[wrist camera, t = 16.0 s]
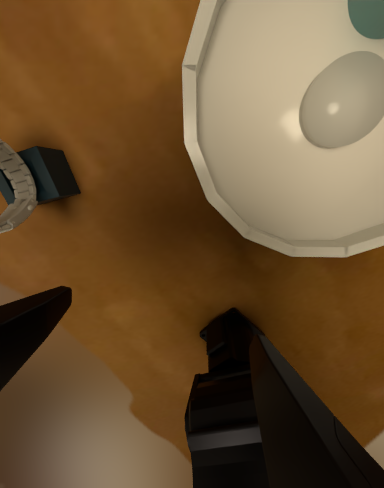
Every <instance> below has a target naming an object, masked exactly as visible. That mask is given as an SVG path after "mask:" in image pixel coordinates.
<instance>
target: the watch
mask: <svg viewBox="0 0 384 488" xmlns="http://www.w3.org/2000/svg"><path fill="white" fill-rule="evenodd" d="M14 152H15V151H14V150H13V149H12V148H11V147H10V146H9V145H8V144H6V143H5V142H3V141H2V140H1V139H0V191H1V193H2V195H3V196H4V198H5V200H6V202H7V203H8V205H9V206H8V207H7V208H6V210H5V211H4V212H3V213H2V214H1V215H0V233H2V232H6V231H9V230H12V229H14V228H15V227H17V226H18V225H20V224H21V223H22V222H23V221H25V220H26V219H27V218H28V217H29V216H30V214H31V213H32V212H33V210H34V209H35V207H36V205H40V204H43V203H47V202H51V201H54V200H58V199H62V198H65V197H69V196H73V195H77V194H80V193H81V192H80V190H79V188H78V185H77V183H76V181H75V178H74V176H73V174H72V172H71V169H70V167H69V165H68V162H67V160H66V158H65V155H64V153H63V151H62V150H56V149H50V148H44V147H38V146H35V147H32V148H29V149H26V150H23V151H20V152H17V153H14Z"/></svg>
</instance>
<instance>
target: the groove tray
mask: <svg viewBox="0 0 384 488" xmlns="http://www.w3.org/2000/svg"><path fill="white" fill-rule="evenodd" d="M182 83H183V115H184V144H185V146H186V149H187V151H188V154H189V156H190V158H191V161H192V163H193V166H194V168H195V171H196V173H197V176H198V178H199V181H200V183H201V186H202V188H203V191H204V193H205V196H206V198H207V201H208V202H209V203H210V204H211V205H212V206H213V207H214V208H215V209H216V210H217V211H218V212H219V213H220V214H221V215H222V216H223V217H224V218H225V219H226V220H227V221H228V222H229V223H230V224H231V225H232V226H233V227H234V228H235V229H236V230H237V231H238V232H239V233H240V234H241V235H242V236H243V237H244V238H246V239H249V240H251V241H254V242H256V243H258V244H261V245H263V246H266V247H268V248H271V249H273V250H276V251H278V252H281V253H283V254H286V255H288V256H291V257H348V256H351V255H355V254H358V253H361V252H364V251H367V250H370V249H374V248H377V247H380V246H383V245H384V39H369V38H366V37H364V36H362V35H361V34H360V33H358V32H357V31H356V29H355V28H354V27H353V25H352V23H351V20H350V17H349V13H348V0H201V1H200V4H199V8H198V11H197V15H196V18H195V22H194V25H193V29H192V32H191V36H190V39H189V43H188V46H187V50H186V53H185V57H184V60H183V64H182Z"/></svg>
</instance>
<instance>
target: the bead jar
mask: <svg viewBox="0 0 384 488" xmlns="http://www.w3.org/2000/svg"><path fill="white" fill-rule="evenodd" d="M348 13H349V17H350V20H351V23H352V25H353V27H354V28H355V29H356V31H357V32H358V33H360V34H361V35H362V36H364V37H366V38H369V39H384V0H348Z"/></svg>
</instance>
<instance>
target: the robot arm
mask: <svg viewBox="0 0 384 488" xmlns="http://www.w3.org/2000/svg"><path fill="white" fill-rule="evenodd" d="M71 302H72V289H71V288H70V287H66V286H59V287H56V288H53V289H50V290H47V291H44V292H41V293H38V294H35V295H32V296H29V297H26V298H23V299H20V300H17V301H14V302H11V303H8V304H5V305H1V306H0V391H1V390H2V388H3V387H4V386H5V385H6V384H7V383H8V382H9V380H10V379H11V378H12V377H13V376H14V375H15V374H16V372H17V371H18V370H19V369H20V368H21V367H22V366H23V364H24V363H25V362H26V361H27V360H28V359H29V358H30V357H31V355H32V354H33V353H34V352H35V351H36V350H37V349H38V347H39V346H40V345H41V344H42V342H44V341H45V339H46V338H47V337H48V336H49V334H50V333H51V332H52V330H53V329H54V328H55V326H56V325H57V324H58V322H59V321H60V319H61V318H62V317H63V315H64V314H65V313H66V311H67V310H68V308H69V307H70V305H71ZM232 312H235V313H232ZM203 334H204V335H203ZM200 337H201V338H202V339H203V340H205V341H206V342H207V355H208V371H209V373H205V374H196V375H195V377H194V381H193V385H192V389H191V393H190V396H189V400H188V404H187V409H186V413H185V431H186V436H187V442H188V446H189V449H190V452H191V459H192V470H193V488H384V470H383V468H382V467H381V466H380V465H379V464H378V463H377V462H376V461H375V460H374V459H373V458H372V457H371V456H370V455H369V453H368V452H366V450H365V449H364V448H363V447H362V446H361V445H360V444H359V443H358V442H357V440H356V439H355V438H354V437H353V436H352V435H351V434H350V433H349V431H348V430H347V429H346V428H345V427H344V426H343V425H342V424H341V422H340V421H339V420H338V419H337V418H336V417H335V416H334V415H333V413H332V412H331V411H330V410H329V409H328V408H327V406H326V405H325V404H324V403H323V402H322V401H321V400H320V398H319V397H318V396H317V395H316V394H315V393H314V391H313V390H312V389H311V388H310V387H309V386H308V385H307V383H306V382H305V381H304V380H303V379H302V378H301V377H300V375H299V374H298V373H297V372H296V371H295V370H294V369H293V367H292V366H291V365H290V364H289V363H288V362H287V360H286V359H285V358H284V357H283V356H282V355H281V354H280V352H279V351H278V350H277V349H276V348H275V347H274V346H273V344H272V343H271V342H270V341H269V340H268V339H267V338H266V337H265V334H264V333H263V332H262V331H260V330H259V329H258V328H257V327H256V326H255V325H254V324H253V323H251V322H250V321H249V320H248V319H247V318H246V317H245V316H244V315H242V314H241V313H240V312H239V311H238V310H237V309H235V308H232V309H230V310H229V311H228V312H226V313H225V314H224V315H222V316H221V317H219V318H217V319H216V320H215V321H213V322H212V323H211V324H209V325H208V326H207V327H206V328H204V329H203V330H202V331H201V332H200Z"/></svg>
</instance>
